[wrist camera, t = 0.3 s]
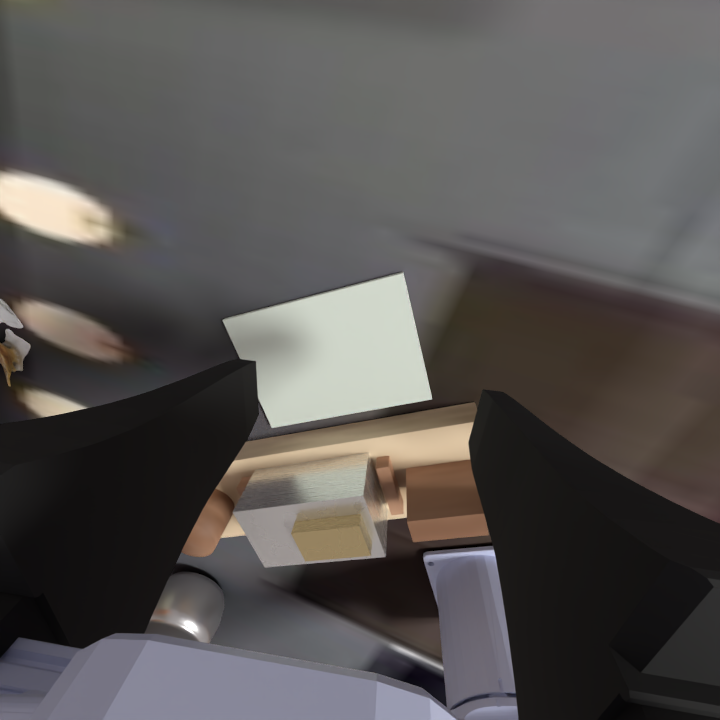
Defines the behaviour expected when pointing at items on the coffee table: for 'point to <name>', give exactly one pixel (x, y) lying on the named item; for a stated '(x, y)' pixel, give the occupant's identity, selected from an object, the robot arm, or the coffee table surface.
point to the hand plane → (392, 466)
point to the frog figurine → (11, 343)
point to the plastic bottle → (188, 608)
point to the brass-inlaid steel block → (315, 512)
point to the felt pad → (334, 352)
